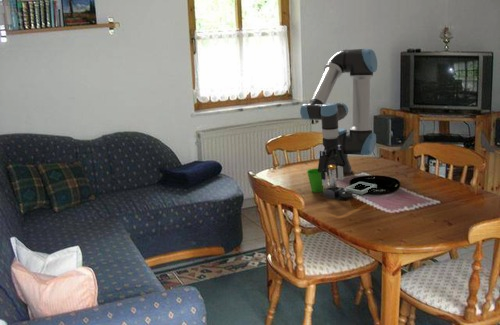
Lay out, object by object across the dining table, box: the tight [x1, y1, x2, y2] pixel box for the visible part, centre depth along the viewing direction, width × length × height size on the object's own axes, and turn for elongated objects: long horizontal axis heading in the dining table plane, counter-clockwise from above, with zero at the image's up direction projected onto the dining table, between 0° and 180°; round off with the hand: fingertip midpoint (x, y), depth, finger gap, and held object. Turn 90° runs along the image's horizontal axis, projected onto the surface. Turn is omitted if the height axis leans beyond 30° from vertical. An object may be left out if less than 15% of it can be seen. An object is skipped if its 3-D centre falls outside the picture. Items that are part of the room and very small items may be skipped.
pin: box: [328, 165, 338, 191], centre depth 279 cm, size 4×4×14 cm
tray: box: [344, 181, 378, 196], centre depth 285 cm, size 12×10×2 cm
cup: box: [306, 167, 324, 193], centre depth 288 cm, size 9×9×11 cm
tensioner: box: [320, 186, 357, 202], centre depth 279 cm, size 9×15×5 cm, turn 42°
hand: (333, 182), depth 280 cm, fingers open, 11 cm apart
